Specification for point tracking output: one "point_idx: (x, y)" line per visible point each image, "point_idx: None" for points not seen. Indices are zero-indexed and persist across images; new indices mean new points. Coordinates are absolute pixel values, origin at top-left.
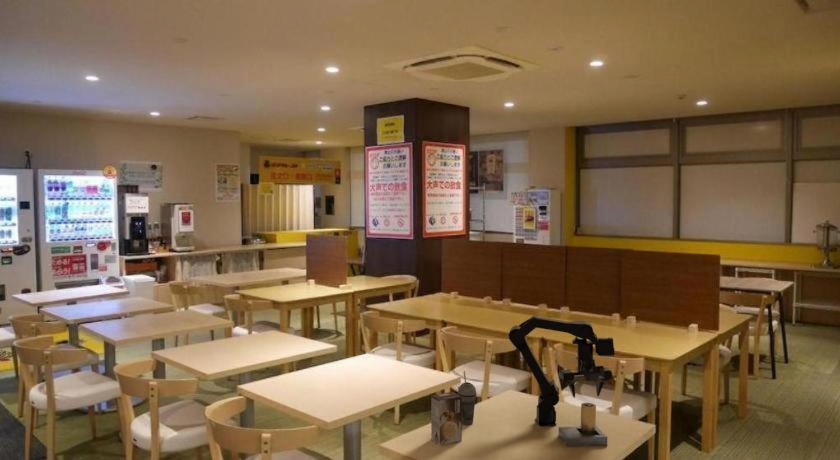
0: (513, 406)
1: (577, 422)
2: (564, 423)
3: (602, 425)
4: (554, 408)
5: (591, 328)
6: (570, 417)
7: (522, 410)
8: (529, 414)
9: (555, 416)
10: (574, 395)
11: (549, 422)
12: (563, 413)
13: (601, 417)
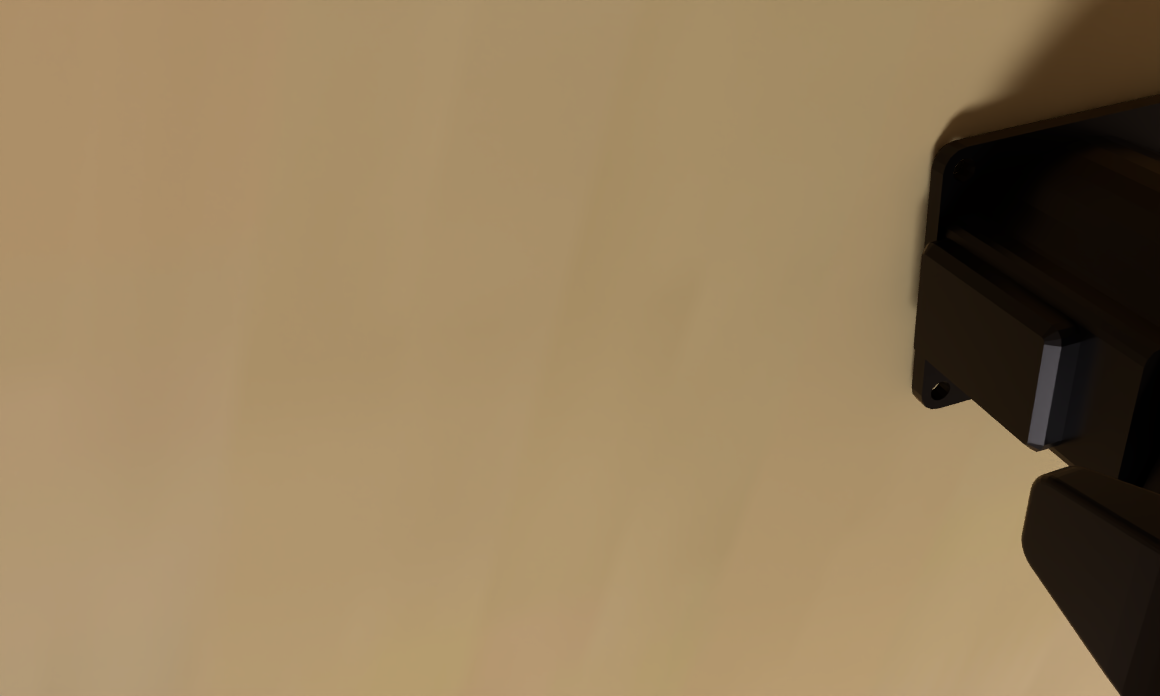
0: None
1: (518, 349)
2: (760, 266)
3: (3, 281)
4: (1150, 344)
5: None
6: (584, 532)
7: None
8: None
9: (997, 282)
10: (1140, 511)
11: (1072, 155)
12: (648, 648)
13: (6, 660)
